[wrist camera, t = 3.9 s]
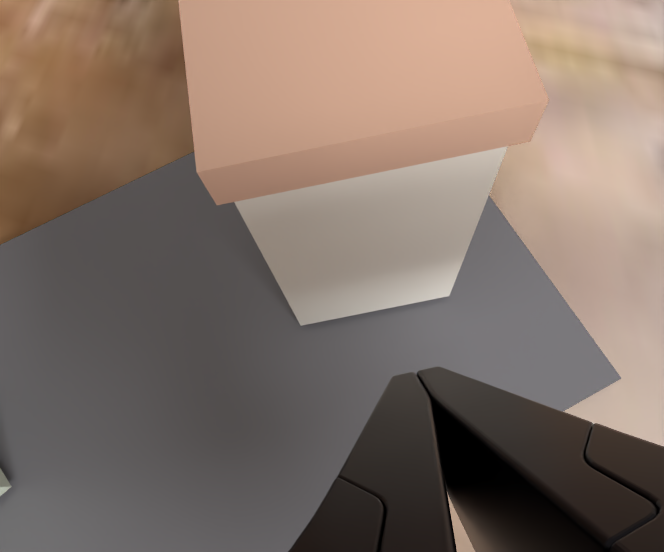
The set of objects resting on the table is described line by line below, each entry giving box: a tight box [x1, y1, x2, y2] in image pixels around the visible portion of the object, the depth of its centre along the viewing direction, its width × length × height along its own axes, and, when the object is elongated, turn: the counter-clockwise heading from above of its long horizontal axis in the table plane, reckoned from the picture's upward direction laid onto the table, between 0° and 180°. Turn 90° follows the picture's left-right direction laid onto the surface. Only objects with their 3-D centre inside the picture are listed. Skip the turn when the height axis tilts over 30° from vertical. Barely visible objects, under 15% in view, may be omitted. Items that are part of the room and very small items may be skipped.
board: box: [0, 152, 621, 552], centre depth 20 cm, size 28×16×1 cm, turn 117°
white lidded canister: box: [178, 0, 549, 326], centre depth 15 cm, size 6×6×11 cm
